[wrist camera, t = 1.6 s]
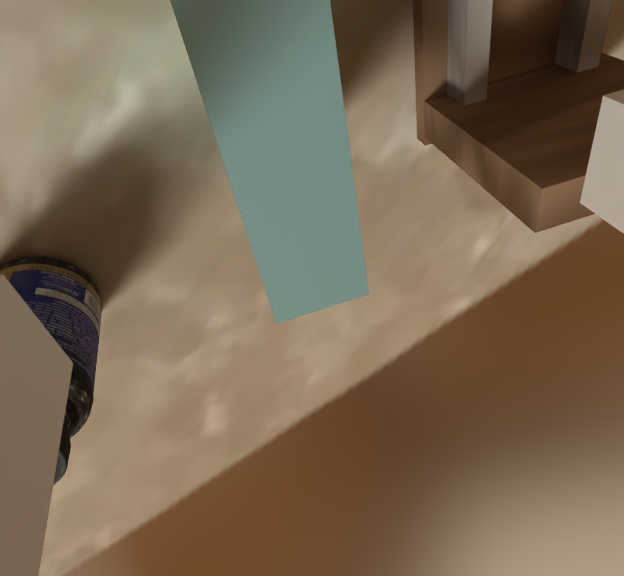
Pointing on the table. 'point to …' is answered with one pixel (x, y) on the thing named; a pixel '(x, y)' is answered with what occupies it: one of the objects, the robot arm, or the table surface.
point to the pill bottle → (64, 330)
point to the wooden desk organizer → (516, 96)
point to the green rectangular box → (282, 142)
